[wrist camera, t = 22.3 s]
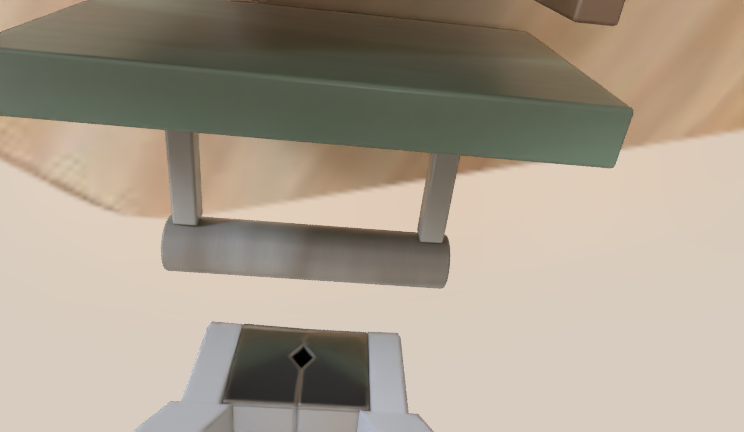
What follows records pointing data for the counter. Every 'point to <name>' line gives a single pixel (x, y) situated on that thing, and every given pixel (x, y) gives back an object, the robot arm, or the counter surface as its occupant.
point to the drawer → (313, 111)
